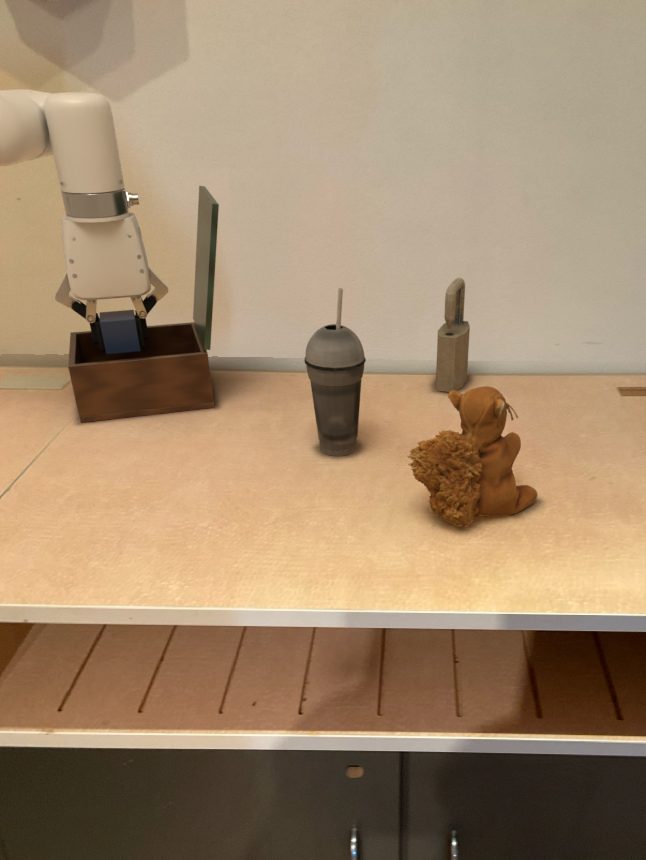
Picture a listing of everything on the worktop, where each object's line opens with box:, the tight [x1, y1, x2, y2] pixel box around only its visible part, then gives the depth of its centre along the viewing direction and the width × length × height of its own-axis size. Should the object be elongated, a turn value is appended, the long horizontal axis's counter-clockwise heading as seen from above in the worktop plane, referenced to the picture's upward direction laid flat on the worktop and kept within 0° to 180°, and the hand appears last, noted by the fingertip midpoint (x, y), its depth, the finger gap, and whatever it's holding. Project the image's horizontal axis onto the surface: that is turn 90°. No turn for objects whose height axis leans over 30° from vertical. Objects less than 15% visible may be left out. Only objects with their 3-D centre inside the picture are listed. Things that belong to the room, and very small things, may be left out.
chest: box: [67, 321, 215, 423], centre depth 112 cm, size 18×15×8 cm
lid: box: [192, 185, 220, 351], centre depth 107 cm, size 18×15×1 cm
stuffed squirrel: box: [406, 385, 538, 528], centre depth 84 cm, size 10×14×13 cm
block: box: [99, 309, 141, 354], centre depth 108 cm, size 4×4×4 cm
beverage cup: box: [303, 288, 367, 457], centre depth 94 cm, size 7×7×20 cm
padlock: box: [435, 277, 471, 393], centre depth 115 cm, size 4×8×15 cm, turn 163°
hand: (122, 345), depth 109 cm, fingers closed on block, 4 cm apart
